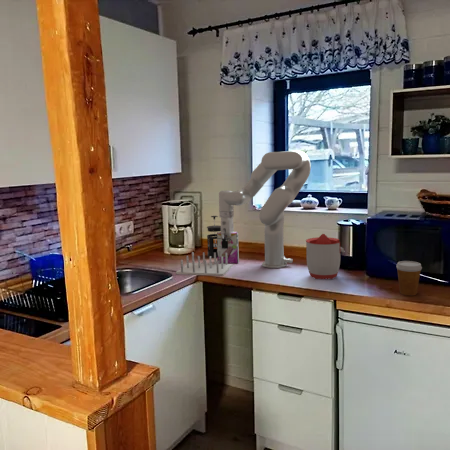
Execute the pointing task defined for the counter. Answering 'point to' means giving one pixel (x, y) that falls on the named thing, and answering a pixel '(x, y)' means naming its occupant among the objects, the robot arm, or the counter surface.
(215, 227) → the french press
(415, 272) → the disposable coffee cup
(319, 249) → the citrus juicer
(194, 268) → the dish rack
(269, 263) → the robot arm
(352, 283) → the counter surface
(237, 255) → the candy bar box
